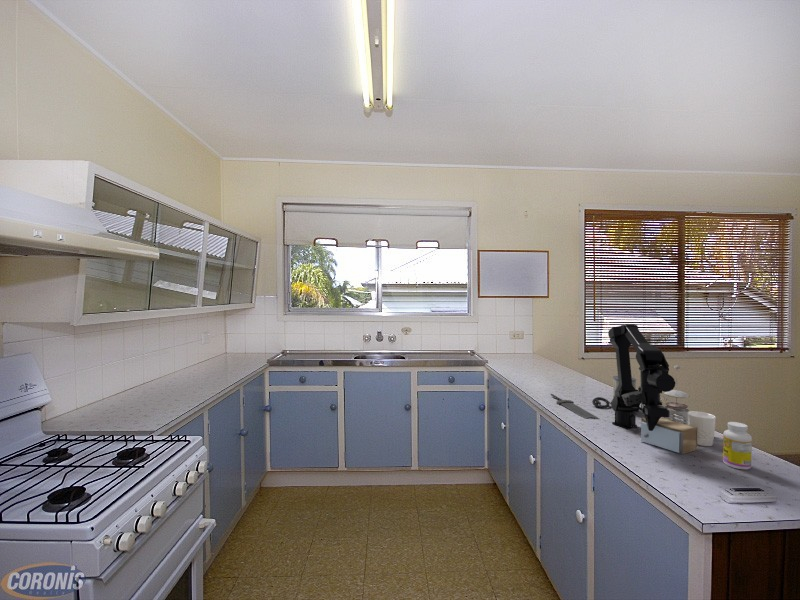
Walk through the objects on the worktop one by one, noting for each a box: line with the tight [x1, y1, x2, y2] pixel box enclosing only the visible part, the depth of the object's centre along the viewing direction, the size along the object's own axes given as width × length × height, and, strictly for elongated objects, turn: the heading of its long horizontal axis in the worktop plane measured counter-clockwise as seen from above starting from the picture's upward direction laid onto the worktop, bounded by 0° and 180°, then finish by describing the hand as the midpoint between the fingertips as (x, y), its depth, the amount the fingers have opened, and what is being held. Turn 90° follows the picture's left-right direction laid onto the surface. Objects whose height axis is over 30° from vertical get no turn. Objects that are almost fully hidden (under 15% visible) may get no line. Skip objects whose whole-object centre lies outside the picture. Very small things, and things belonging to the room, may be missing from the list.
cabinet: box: [640, 417, 698, 455], centre depth 135 cm, size 14×8×8 cm, turn 25°
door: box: [640, 421, 684, 455], centre depth 132 cm, size 13×2×7 cm, turn 30°
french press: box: [658, 365, 691, 425], centre depth 149 cm, size 10×12×25 cm
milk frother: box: [591, 375, 637, 411], centre depth 175 cm, size 14×16×15 cm
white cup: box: [687, 410, 716, 447], centre depth 137 cm, size 8×8×10 cm
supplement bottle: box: [722, 421, 753, 470], centre depth 119 cm, size 7×7×13 cm
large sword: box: [550, 393, 601, 420], centre depth 179 cm, size 7×35×2 cm, turn 7°
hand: (650, 430), depth 133 cm, fingers closed
